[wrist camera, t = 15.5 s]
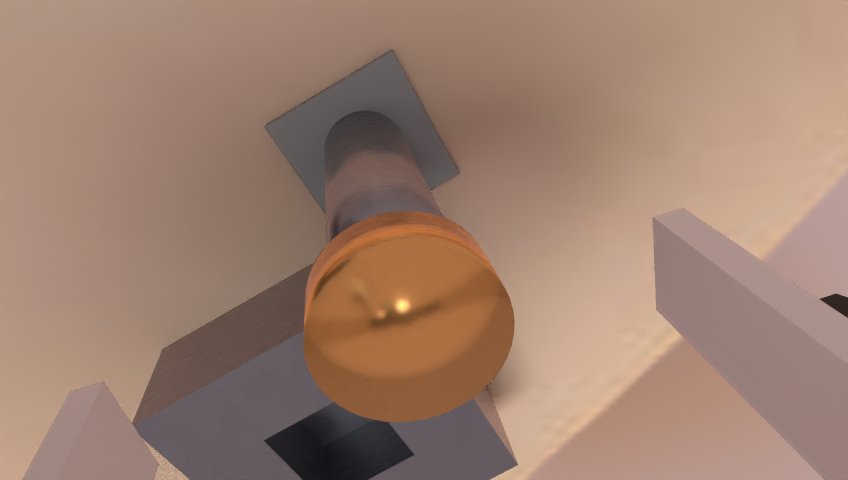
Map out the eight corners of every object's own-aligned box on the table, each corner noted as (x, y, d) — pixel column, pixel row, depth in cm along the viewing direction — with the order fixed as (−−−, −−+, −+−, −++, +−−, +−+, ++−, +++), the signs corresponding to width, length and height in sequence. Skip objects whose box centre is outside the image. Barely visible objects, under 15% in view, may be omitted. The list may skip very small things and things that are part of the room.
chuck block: (162, 349, 32) (130, 427, 26) (380, 225, 30) (393, 280, 25) (337, 523, 40) (339, 609, 34) (513, 430, 39) (545, 504, 33)
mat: (265, 125, 27) (264, 127, 27) (392, 49, 27) (392, 50, 26) (343, 236, 30) (343, 239, 30) (457, 170, 30) (459, 173, 29)
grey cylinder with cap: (330, 211, 29) (340, 445, 15) (297, 114, 27) (271, 281, 13) (427, 184, 29) (528, 388, 15) (403, 85, 27) (495, 217, 13)
